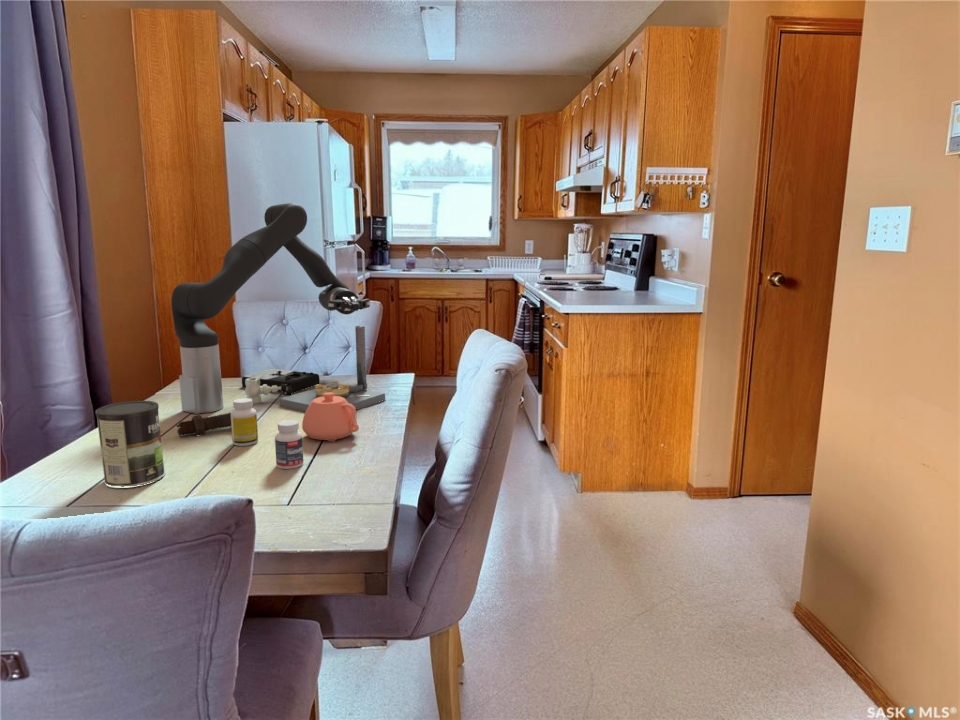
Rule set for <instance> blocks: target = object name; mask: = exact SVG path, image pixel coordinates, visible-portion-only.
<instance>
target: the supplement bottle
mask: <svg viewBox="0 0 960 720" xmlns="http://www.w3.org/2000/svg"><path fill="white" fill-rule="evenodd" d="M253 405H254V403H252V399H249V398H246V397H245V398H244V397H243V398H242V397H241V398H236V399H234V400H233V401H232V407H233V410H231V411H230V412H231V426H230V429H231V441H232V442H231V443H232V445H234V446H237V447H247V446H252V445H255V444H256V443H258V441H259V433H258V418H257V417H258V416H257V411H256V409H255V408H253Z"/></svg>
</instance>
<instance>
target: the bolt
mask: <svg viewBox="0 0 960 720" xmlns="http://www.w3.org/2000/svg"><path fill="white" fill-rule="evenodd" d="M231 412H232V411H230V412H226V413H222V414H217V415H212V416H206V417H203V416H202V415H199V414H195V415H193V416H192V418H191V419H190V420H186V421H185V420H184V421H180V422H179V423H178V424H177V425H175V427H176V428H177V430H176V433H177V435H178V436H180V437H181V436H186V435H192V434H194V433H195V434H194V435H195V436H196V435H200V436H203V435H205V432H207V431H213V430H218V429H224V428H229V427H230V428H231Z"/></svg>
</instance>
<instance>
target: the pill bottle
mask: <svg viewBox="0 0 960 720" xmlns="http://www.w3.org/2000/svg"><path fill="white" fill-rule="evenodd" d="M299 425H300V424H299V421H298V420H296V419H285V420H280V421H278V422H277V431H278V432H277V433H276V434H275V436H274V445H275V462H276V463H275V464H276V467H277V468H279V469H283V470H290V469H292V468H293V469H297V468H300V467H302V466H303V464H304V446H303V445H304V443H303V434H302V432H301V431H299V428H300V427H299Z"/></svg>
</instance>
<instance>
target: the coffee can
mask: <svg viewBox="0 0 960 720" xmlns="http://www.w3.org/2000/svg"><path fill="white" fill-rule="evenodd" d="M159 407H160V406H159V403H158V402H156V401H152V400H151V401H150V400H128V401H122V402H116V403H110V404H107V405H103V406H101V407H98V408H97V409H96V410H95V416H96V419H97V429H98V439H99V444H100V453H101V462H102V468H103V477H104V482H105V483H106V484H108V485H111V486H121V487H124V486H137V485H144V484H147V483H150V482H153V481H156V480H158V479H160V478H161V477H163V475H164V474H166V472H165V467H164V466H165V465H164V455H163V445H162V435H161V423H160V415H159ZM163 478H164V477H163ZM160 480H161V479H160Z"/></svg>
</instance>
